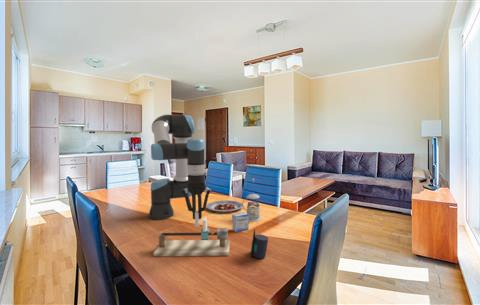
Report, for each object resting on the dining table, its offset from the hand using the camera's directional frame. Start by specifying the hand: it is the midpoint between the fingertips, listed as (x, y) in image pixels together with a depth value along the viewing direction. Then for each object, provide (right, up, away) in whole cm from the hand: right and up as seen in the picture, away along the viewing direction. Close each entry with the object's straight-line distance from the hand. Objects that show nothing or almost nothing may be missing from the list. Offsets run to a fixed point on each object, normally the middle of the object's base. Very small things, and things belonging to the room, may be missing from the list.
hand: (197, 225), depth 107 cm
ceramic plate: (+9, -7, +61) cm, 62 cm away
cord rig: (-2, -11, +1) cm, 11 cm away
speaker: (+27, -11, -6) cm, 30 cm away
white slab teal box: (+3, -6, 0) cm, 7 cm away
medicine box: (+19, -9, +22) cm, 31 cm away
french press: (+26, -8, +39) cm, 48 cm away
